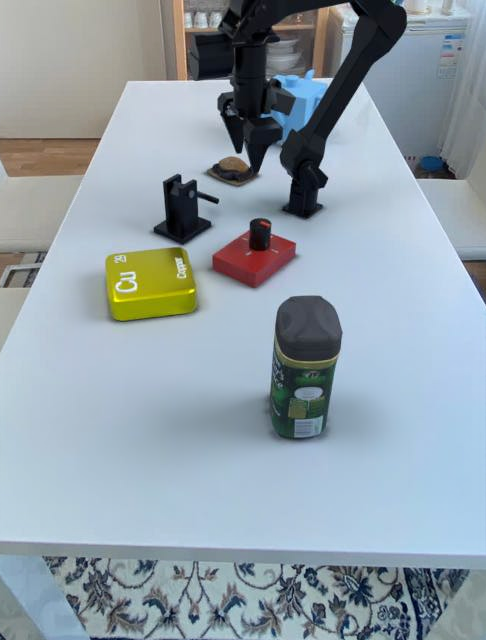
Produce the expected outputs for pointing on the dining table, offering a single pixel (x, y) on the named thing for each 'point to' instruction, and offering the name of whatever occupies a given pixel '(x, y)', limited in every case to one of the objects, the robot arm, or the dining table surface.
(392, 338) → the dining table surface
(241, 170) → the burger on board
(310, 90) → the teakettle
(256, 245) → the knob
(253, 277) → the dial panel
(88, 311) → the dining table surface
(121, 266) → the element tile
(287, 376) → the coffee jar
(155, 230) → the lever bracket
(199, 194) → the black lever handle
